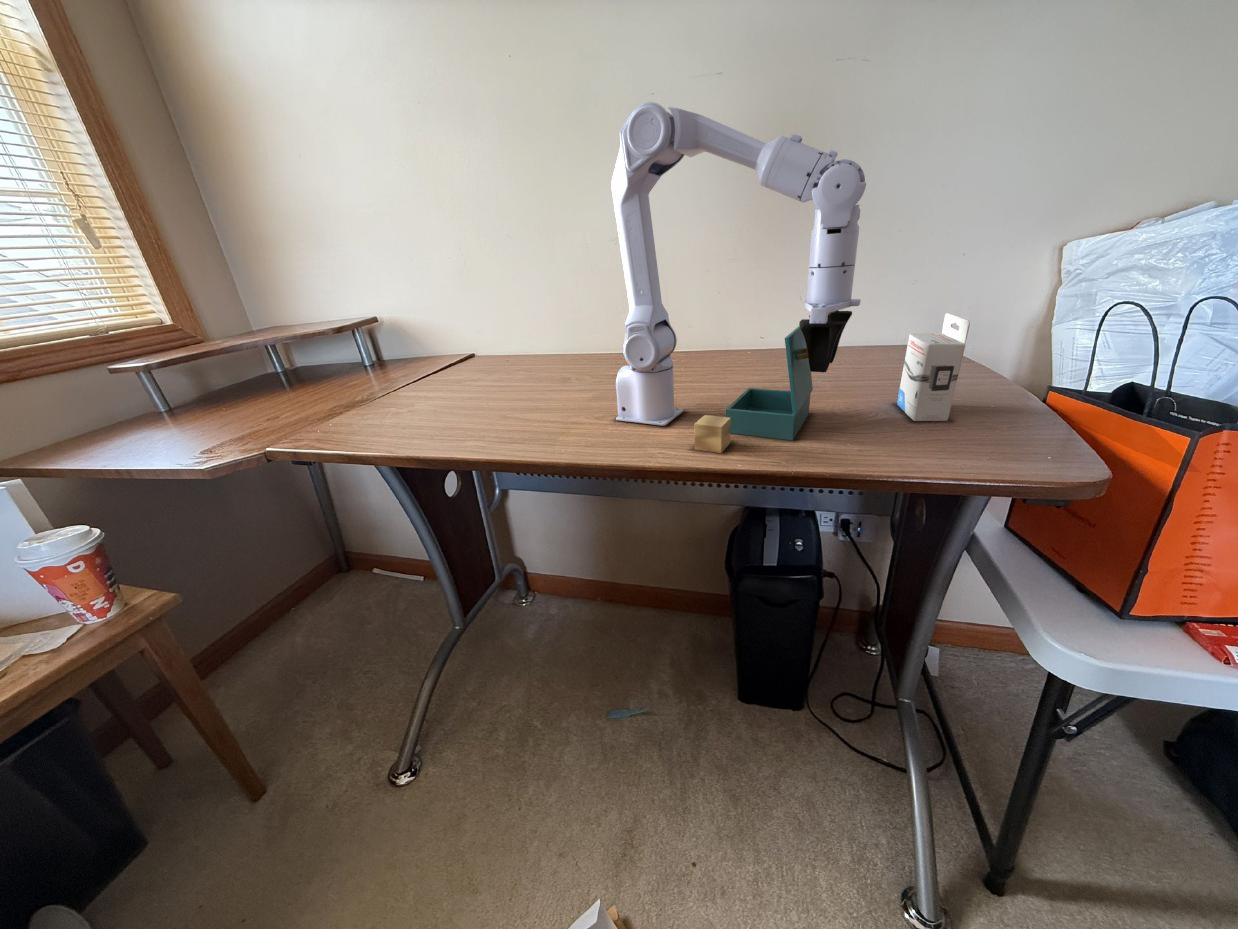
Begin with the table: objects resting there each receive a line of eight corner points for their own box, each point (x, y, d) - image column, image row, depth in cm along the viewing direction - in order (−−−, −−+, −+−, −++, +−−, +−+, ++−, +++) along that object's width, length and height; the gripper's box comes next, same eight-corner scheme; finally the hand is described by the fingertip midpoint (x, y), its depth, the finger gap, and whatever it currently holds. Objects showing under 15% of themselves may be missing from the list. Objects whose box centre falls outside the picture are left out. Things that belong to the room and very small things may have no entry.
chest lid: (784, 337, 65) (820, 332, 62) (802, 323, 74) (834, 317, 71) (792, 413, 68) (827, 411, 66) (808, 390, 77) (839, 387, 75)
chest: (724, 432, 75) (725, 409, 73) (747, 408, 84) (748, 387, 82) (792, 440, 70) (794, 416, 68) (808, 414, 79) (810, 392, 77)
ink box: (895, 404, 80) (911, 313, 74) (927, 404, 79) (946, 312, 73) (913, 422, 73) (932, 322, 67) (949, 422, 72) (972, 320, 66)
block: (694, 449, 69) (694, 423, 68) (704, 439, 72) (704, 414, 71) (721, 453, 67) (721, 426, 66) (730, 443, 70) (730, 417, 69)
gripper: (858, 268, 56) (845, 381, 62) (869, 260, 67) (857, 356, 73) (796, 271, 60) (789, 378, 65) (816, 263, 71) (809, 355, 76)
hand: (821, 366), depth 69 cm, fingers closed on chest lid, 5 cm apart
